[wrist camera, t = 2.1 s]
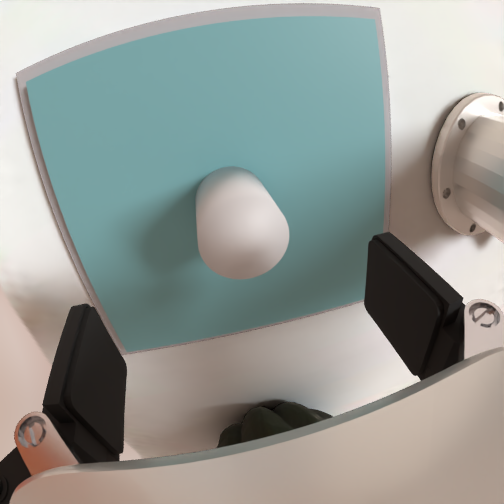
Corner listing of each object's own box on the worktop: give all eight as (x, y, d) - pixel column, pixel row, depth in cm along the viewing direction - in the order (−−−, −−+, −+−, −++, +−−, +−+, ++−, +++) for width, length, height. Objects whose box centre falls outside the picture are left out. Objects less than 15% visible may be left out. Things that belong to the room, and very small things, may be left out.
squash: (166, 476, 27) (264, 563, 21) (239, 409, 23) (370, 521, 17) (235, 426, 40) (311, 495, 34) (302, 358, 35) (393, 438, 30)
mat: (375, 9, 15) (379, 8, 14) (379, 292, 26) (382, 295, 25) (19, 73, 13) (16, 73, 12) (122, 350, 24) (121, 354, 24)
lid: (368, 20, 15) (427, 9, 10) (372, 289, 25) (408, 336, 20) (31, 81, 13) (-24, 87, 8) (127, 344, 23) (120, 404, 18)
